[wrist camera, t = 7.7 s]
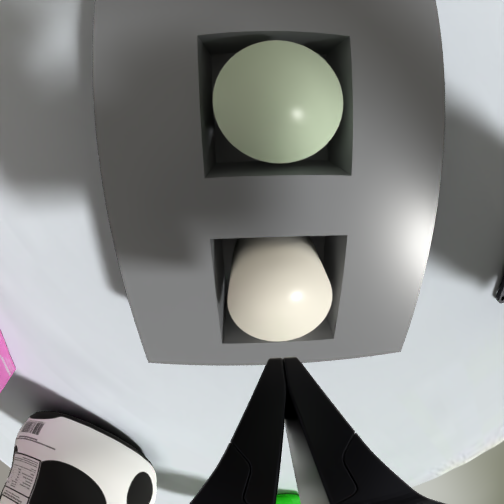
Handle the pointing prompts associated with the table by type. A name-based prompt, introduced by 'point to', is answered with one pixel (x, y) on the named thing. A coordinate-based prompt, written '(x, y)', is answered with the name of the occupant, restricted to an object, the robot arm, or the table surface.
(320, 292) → the cream button
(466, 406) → the table surface
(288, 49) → the sage button
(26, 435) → the milk container
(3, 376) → the gum box
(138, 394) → the table surface
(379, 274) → the button panel
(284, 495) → the plastic bottle
